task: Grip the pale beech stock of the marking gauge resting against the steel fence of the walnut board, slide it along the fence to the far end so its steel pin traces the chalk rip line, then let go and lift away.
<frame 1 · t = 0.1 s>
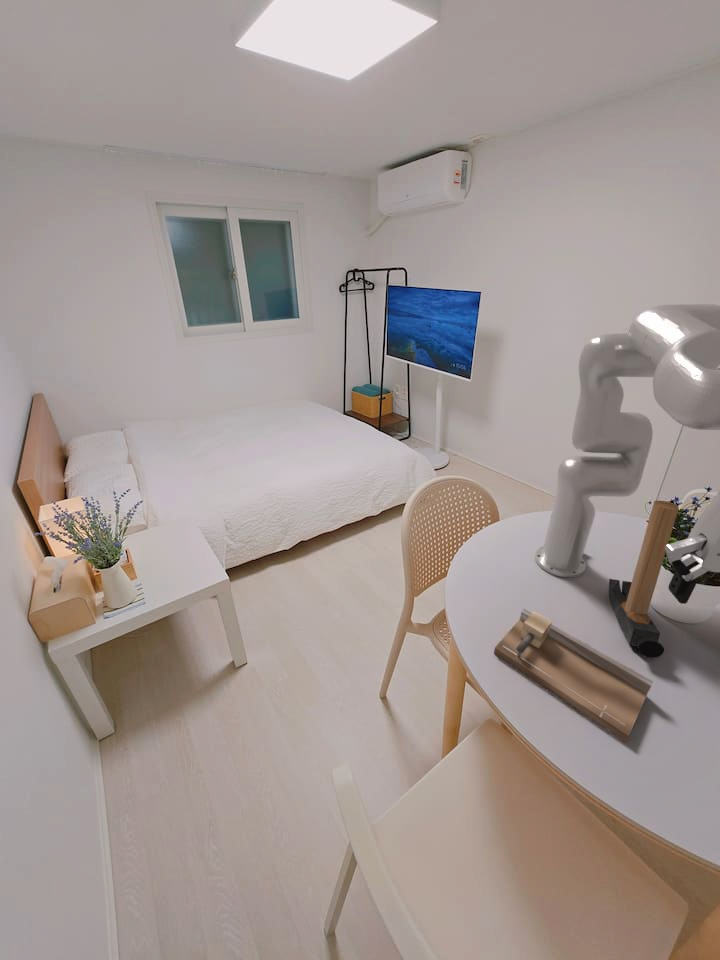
hand: (713, 598, 56), 31 cm above the table, tool pointing down, fingers open, 9 cm apart
gauge: (530, 636, 83), point 4 cm above the table, slide at -8.0 cm
board: (565, 673, 80), on the table
hammer: (629, 624, 91), on the table
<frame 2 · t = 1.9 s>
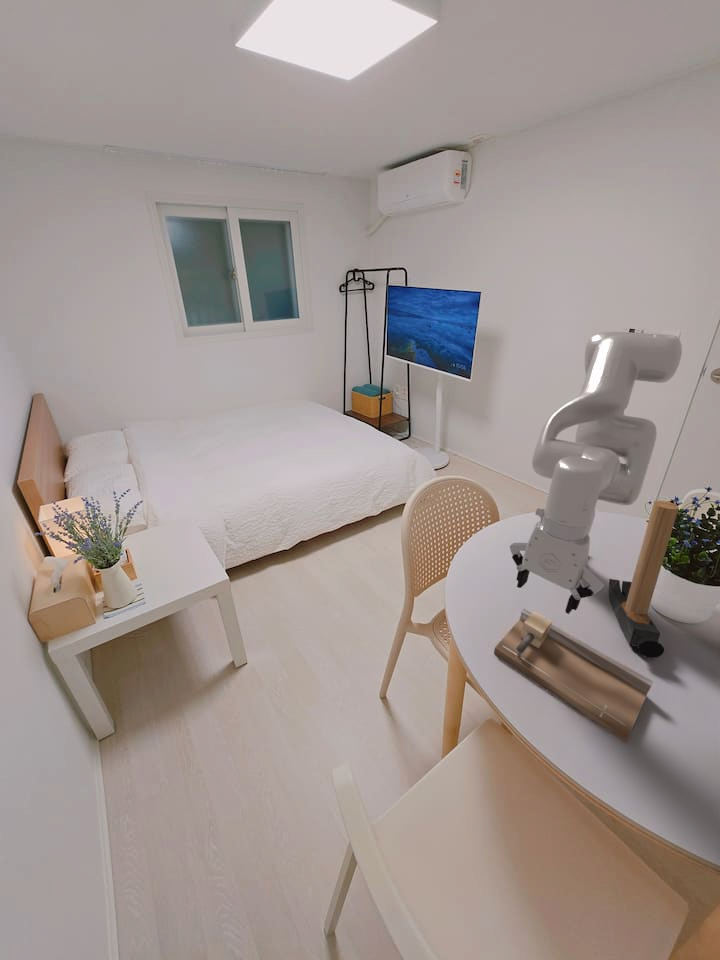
hand: (544, 596, 80), 14 cm above the table, tool pointing down, fingers open, 9 cm apart
nothing on the table moved.
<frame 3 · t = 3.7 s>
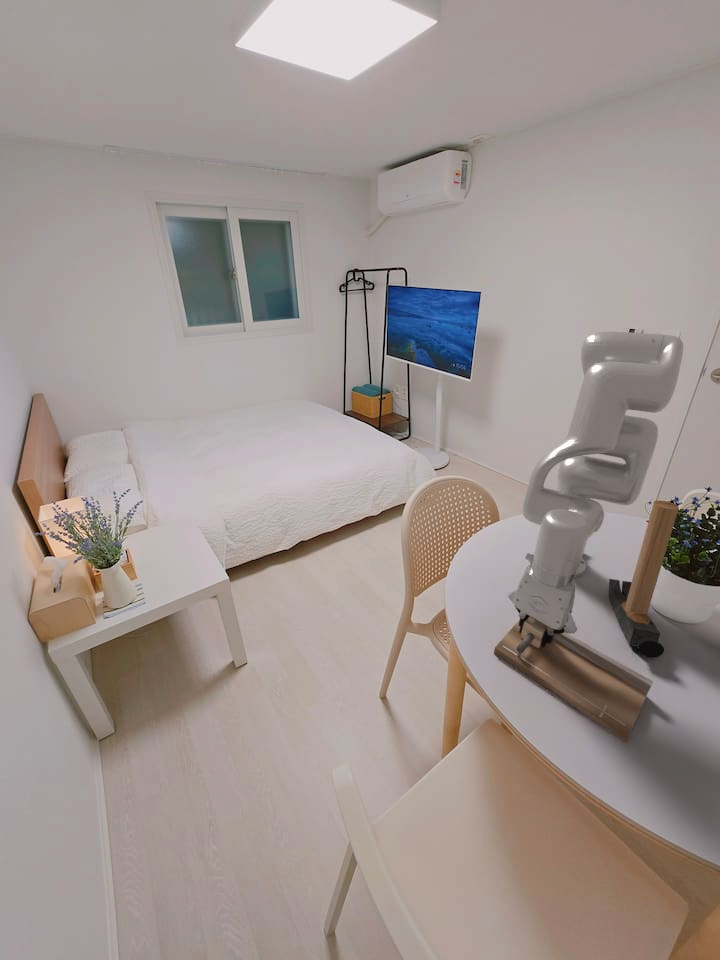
hand: (534, 635, 86), 2 cm above the table, tool pointing down, fingers closed on gauge, 4 cm apart
gauge: (530, 636, 83), point 4 cm above the table, slide at -8.0 cm, touching gripper
everything else where it was.
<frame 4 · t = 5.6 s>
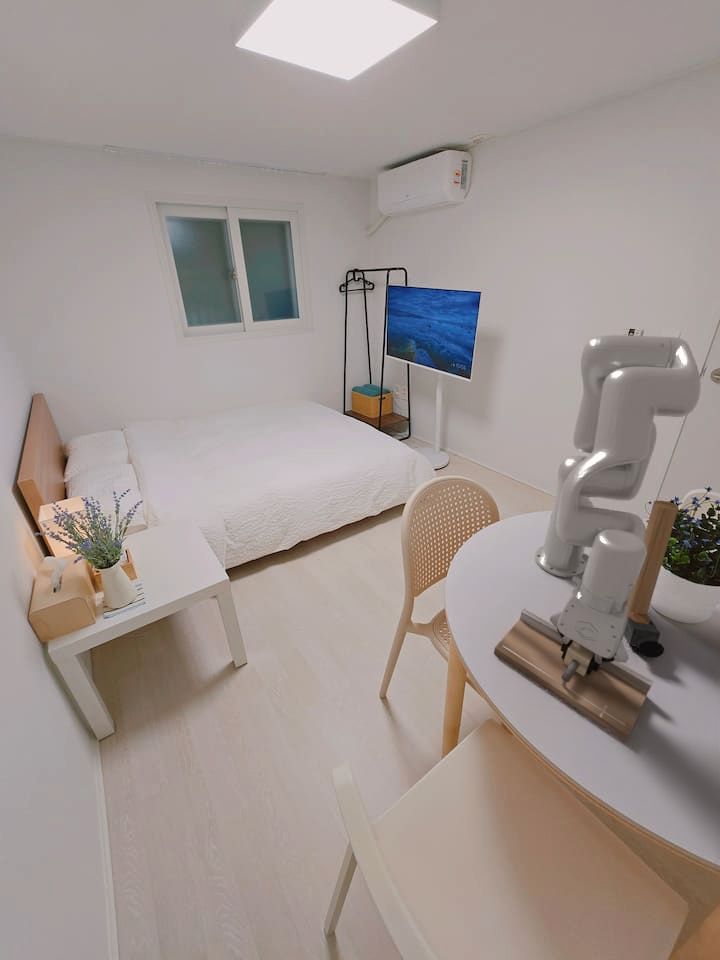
hand: (578, 661, 80), 2 cm above the table, tool pointing down, fingers closed on gauge, 4 cm apart
gauge: (575, 663, 77), point 4 cm above the table, slide at 1.0 cm, touching gripper
everything else where it was.
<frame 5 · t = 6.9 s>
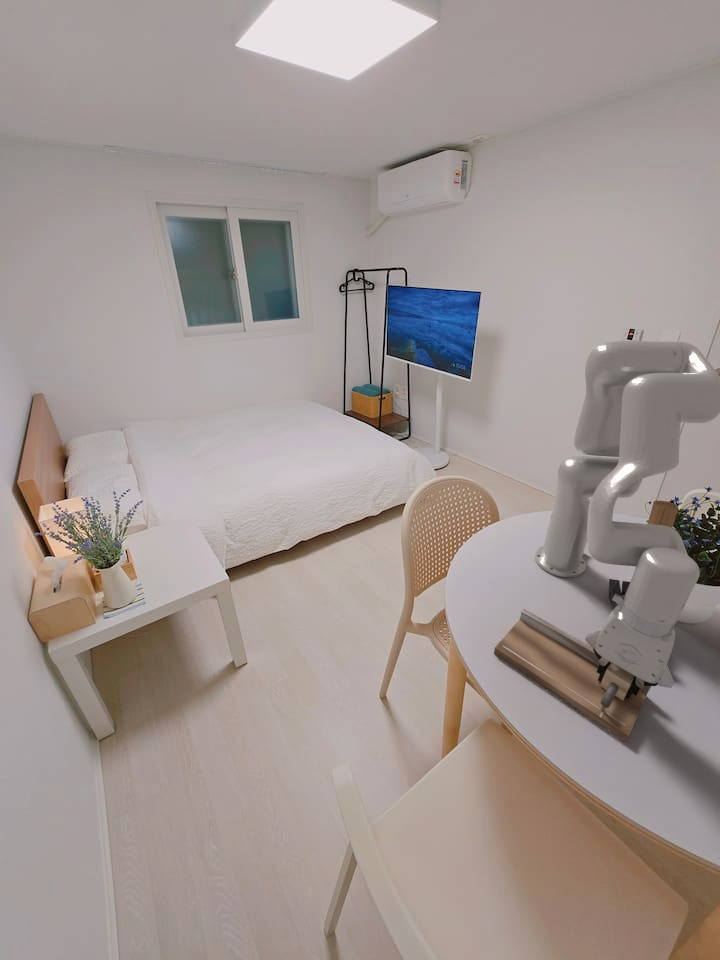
hand: (615, 684, 75), 2 cm above the table, tool pointing down, fingers closed on gauge, 4 cm apart
gauge: (614, 686, 73), point 4 cm above the table, slide at 7.8 cm, touching gripper
everything else where it was.
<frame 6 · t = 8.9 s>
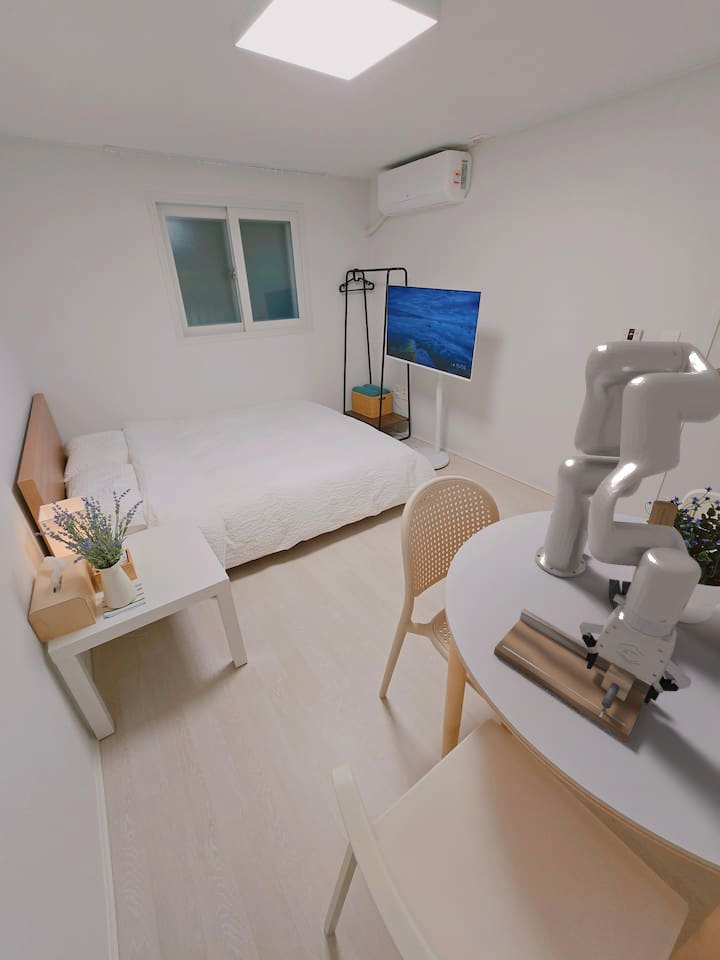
hand: (618, 680, 75), 3 cm above the table, tool pointing down, fingers open, 9 cm apart
gauge: (615, 687, 73), point 4 cm above the table, slide at 8.0 cm
everything else where it was.
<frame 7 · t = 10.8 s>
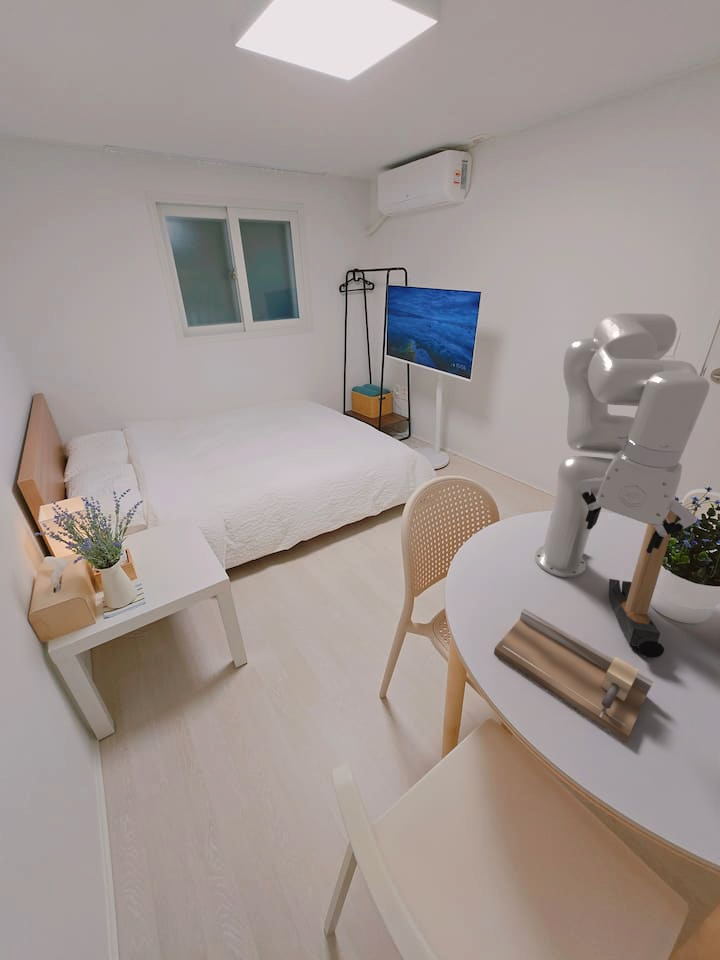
hand: (619, 537, 72), 29 cm above the table, tool pointing down, fingers open, 9 cm apart
nothing on the table moved.
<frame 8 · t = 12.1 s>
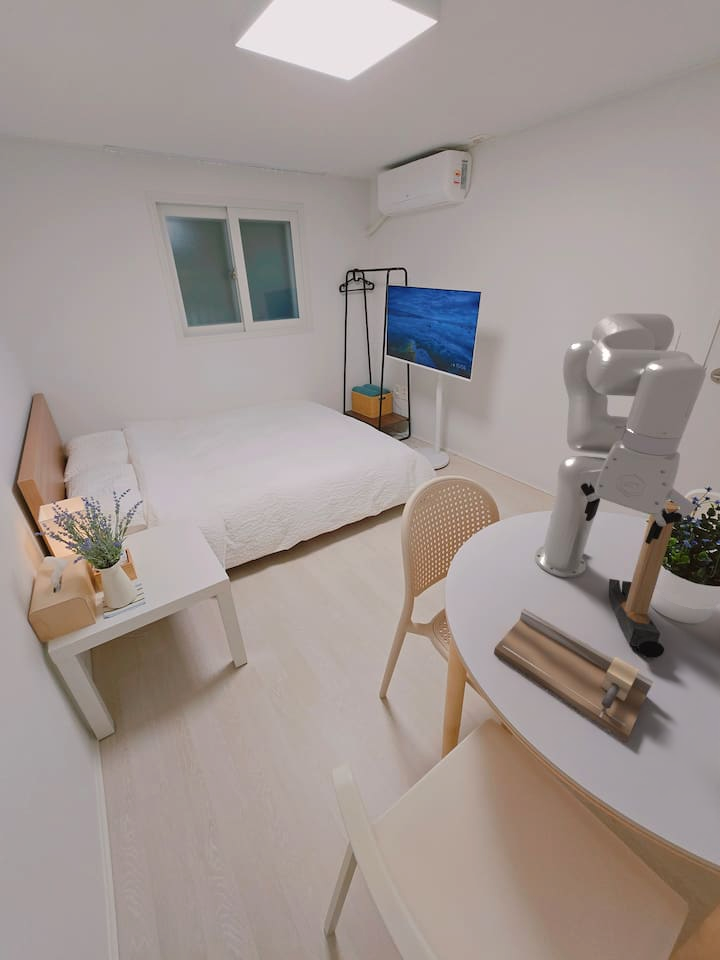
hand: (618, 528, 72), 30 cm above the table, tool pointing down, fingers open, 9 cm apart
nothing on the table moved.
at the end: gauge slide at 8.0 cm; the gripper is holding nothing; hammer moved 0.3 cm from its start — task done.
